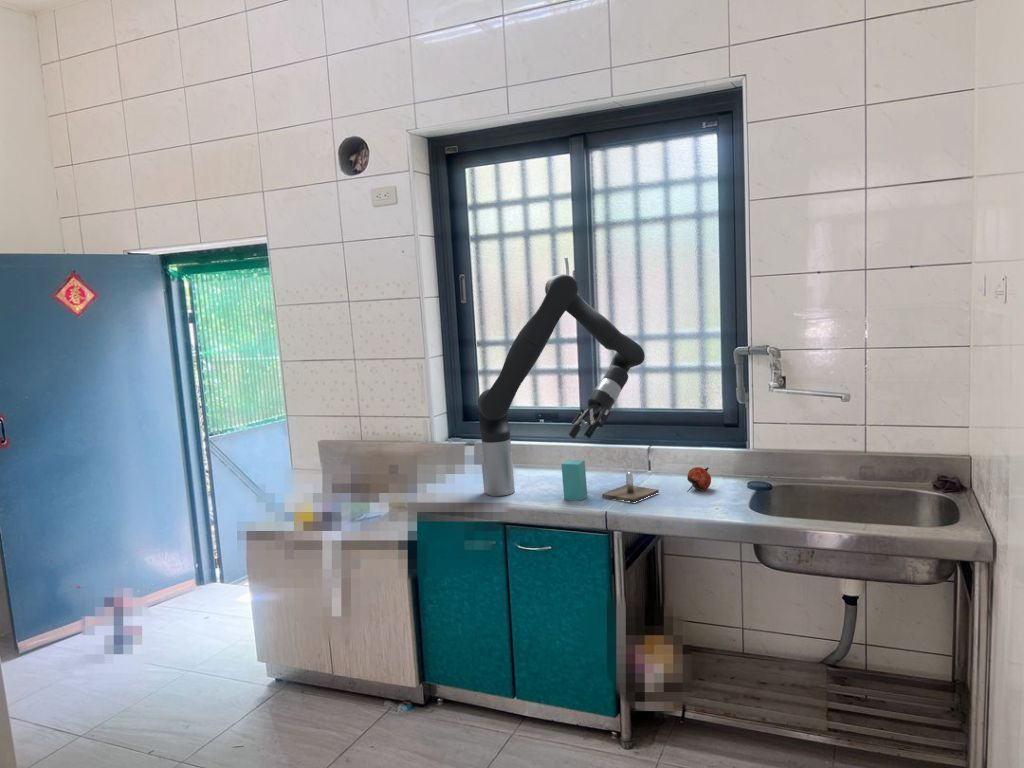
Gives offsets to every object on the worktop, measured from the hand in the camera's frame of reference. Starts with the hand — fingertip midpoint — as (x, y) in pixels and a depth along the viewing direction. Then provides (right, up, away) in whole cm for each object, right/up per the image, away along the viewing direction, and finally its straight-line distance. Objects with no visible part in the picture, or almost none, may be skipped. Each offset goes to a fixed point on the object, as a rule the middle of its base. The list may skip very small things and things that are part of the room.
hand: (578, 436), depth 224 cm
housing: (-1, -18, -3) cm, 19 cm away
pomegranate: (+35, -16, -6) cm, 39 cm away
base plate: (+15, -17, -6) cm, 24 cm away
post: (+15, -16, -6) cm, 23 cm away
